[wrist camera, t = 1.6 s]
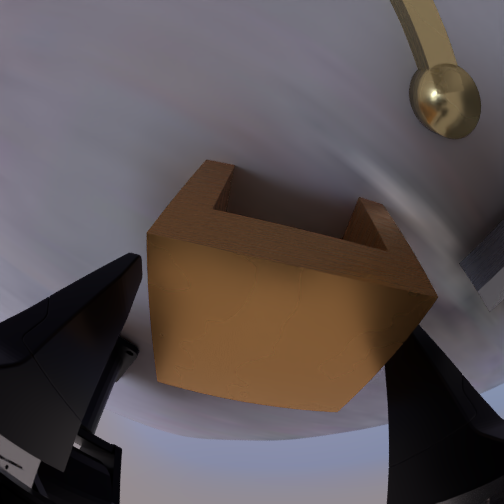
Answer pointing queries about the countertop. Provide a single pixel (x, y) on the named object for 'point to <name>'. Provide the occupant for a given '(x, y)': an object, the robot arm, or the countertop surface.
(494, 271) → the hammer
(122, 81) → the countertop surface
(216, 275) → the wooden u-channel block
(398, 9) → the brass measuring spoon
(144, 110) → the countertop surface
